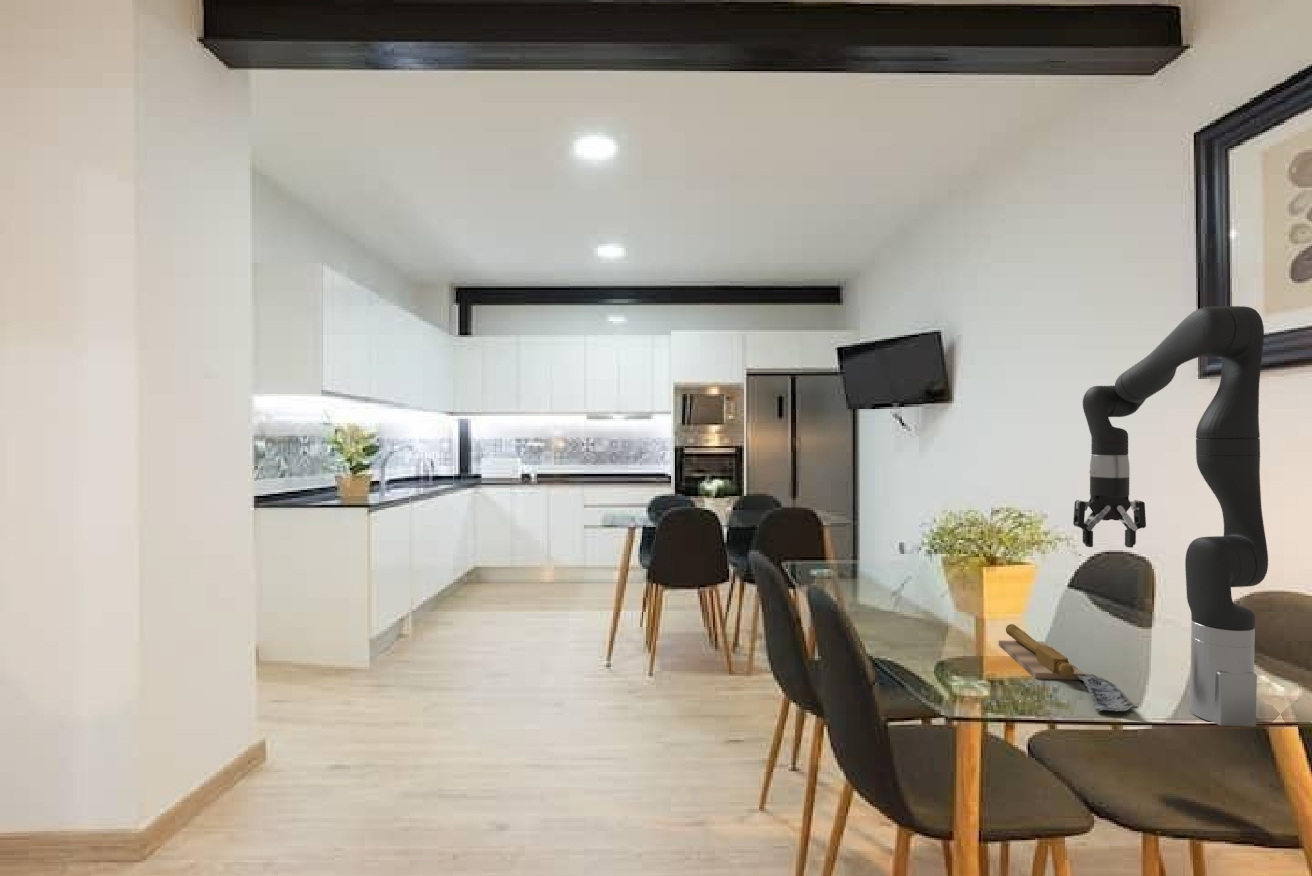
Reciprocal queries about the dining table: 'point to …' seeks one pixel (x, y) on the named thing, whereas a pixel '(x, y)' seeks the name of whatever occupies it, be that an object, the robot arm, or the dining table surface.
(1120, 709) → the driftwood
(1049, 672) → the cutting board
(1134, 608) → the dining table surface
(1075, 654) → the dining table surface
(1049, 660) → the tap handle
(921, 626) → the dining table surface
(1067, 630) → the dining table surface
